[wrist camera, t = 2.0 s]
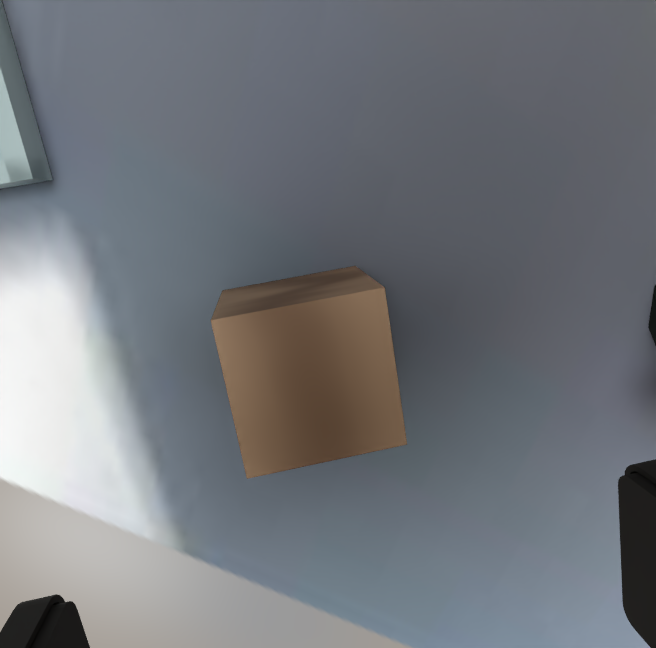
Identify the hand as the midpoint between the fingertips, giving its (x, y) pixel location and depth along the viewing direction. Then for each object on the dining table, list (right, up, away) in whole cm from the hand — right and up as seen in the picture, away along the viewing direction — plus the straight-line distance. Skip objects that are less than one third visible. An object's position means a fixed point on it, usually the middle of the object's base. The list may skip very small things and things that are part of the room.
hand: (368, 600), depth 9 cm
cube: (-2, +4, +16) cm, 16 cm away
